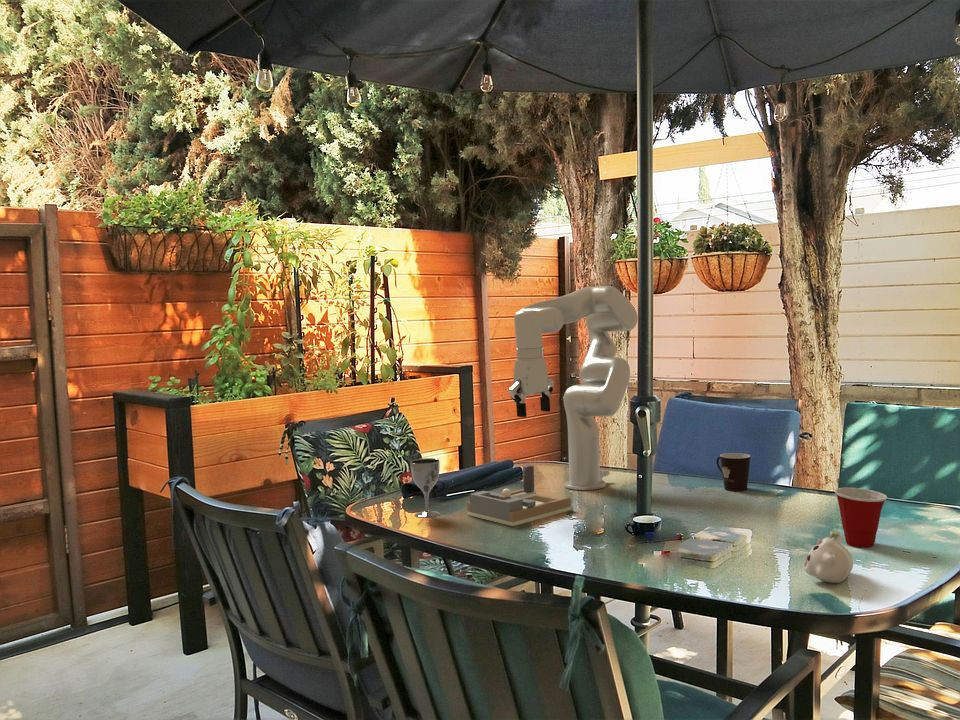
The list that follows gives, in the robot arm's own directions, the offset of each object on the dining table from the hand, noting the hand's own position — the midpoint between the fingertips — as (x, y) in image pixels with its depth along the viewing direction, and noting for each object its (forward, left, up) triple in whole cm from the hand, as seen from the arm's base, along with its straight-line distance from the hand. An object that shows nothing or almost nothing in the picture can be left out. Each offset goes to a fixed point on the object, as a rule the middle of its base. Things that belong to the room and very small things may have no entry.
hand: (533, 413), depth 235 cm
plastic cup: (-20, +83, -26) cm, 90 cm away
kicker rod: (+10, +3, -25) cm, 27 cm away
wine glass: (+28, -15, -26) cm, 41 cm away
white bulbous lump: (+7, +89, -26) cm, 93 cm away
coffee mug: (-52, +31, -26) cm, 66 cm away
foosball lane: (+10, +3, -26) cm, 28 cm away
